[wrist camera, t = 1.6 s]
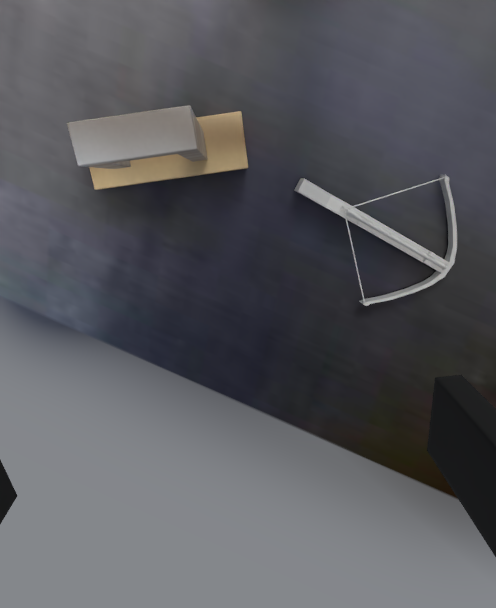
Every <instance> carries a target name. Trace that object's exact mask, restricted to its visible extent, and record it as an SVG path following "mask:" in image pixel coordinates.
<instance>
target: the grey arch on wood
mask: <svg viewBox="0 0 496 608" xmlns="http://www.w3.org/2000/svg"><path fill="white" fill-rule="evenodd" d="M67 126H68V130H69V133H70V137H71V141H72V145H73V149H74V153H75V156H76V160H77V164H78V166H83V167H89V169H90V173H91V177H92V180H93V184H94V188H95V190H98V189H108V188H115V187H122V186H129V185H136V184H143V183H150V182H157V181H164V180H171V179H178V178H185V177H192V176H199V175H206V174H213V173H220V172H227V171H234V170H241V169H247V168H248V161H247V153H246V145H245V137H244V129H243V122H242V114H241V111H239V112H232V113H225V114H218V115H211V116H204V117H197V118H196V116H195V114H194V112H193V110H192V108H191V106H189V105H188V106H180V107H173V108H166V109H159V110H152V111H145V112H138V113H131V114H124V115H117V116H110V117H103V118H96V119H88V120H81V121H74V122H68V123H67Z"/></svg>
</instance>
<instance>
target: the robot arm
mask: <svg viewBox="0 0 496 608" xmlns="http://www.w3.org/2000/svg"><path fill="white" fill-rule="evenodd" d="M427 451H428V452H429V454H430V455H431V457H432V459H433V460H434V462H435V463H436V465H437V466H438V468H439V469H440V471H441V473H442V474H443V476H444V477H445V479H446V480H447V482H448V483H449V485H450V487H451V488H452V490H453V491H454V493H455V494H456V496H457V497H458V499H459V501H460V502H461V504H462V505H463V507H464V508H465V510H466V511H467V513H468V515H469V516H470V518H471V519H472V521H473V522H474V524H475V525H476V527H477V529H478V530H479V532H480V533H481V535H482V536H483V538H484V540H485V541H486V542H487V544H488V546H489V547H490V549H491V550H492V552H493V553H494V555H495V557H496V409H495V408H494V407H493V406H492V405H491V404H490V403H489V402H488V401H487V400H486V399H485V398H484V397H483V396H482V395H481V394H480V393H479V392H478V391H477V390H476V389H475V388H474V387H473V386H472V385H471V384H470V383H469V382H468V381H467V380H466V379H465V378H464V377H463V376H462V375H455V376H446V377H437V378H435V384H434V393H433V402H432V411H431V421H430V430H429V439H428V448H427ZM16 497H17V494H16V492H15V490H14V488H13V486H12V484H11V481H10V479H9V477H8V475H7V473H6V471H5V469H4V467H3V465H2V463H1V460H0V524H1V522H2V520H3V519H4V517H5V515H6V514H7V512H8V510H9V509H10V507H11V505H12V504H13V502H14V500H15V499H16Z"/></svg>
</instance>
